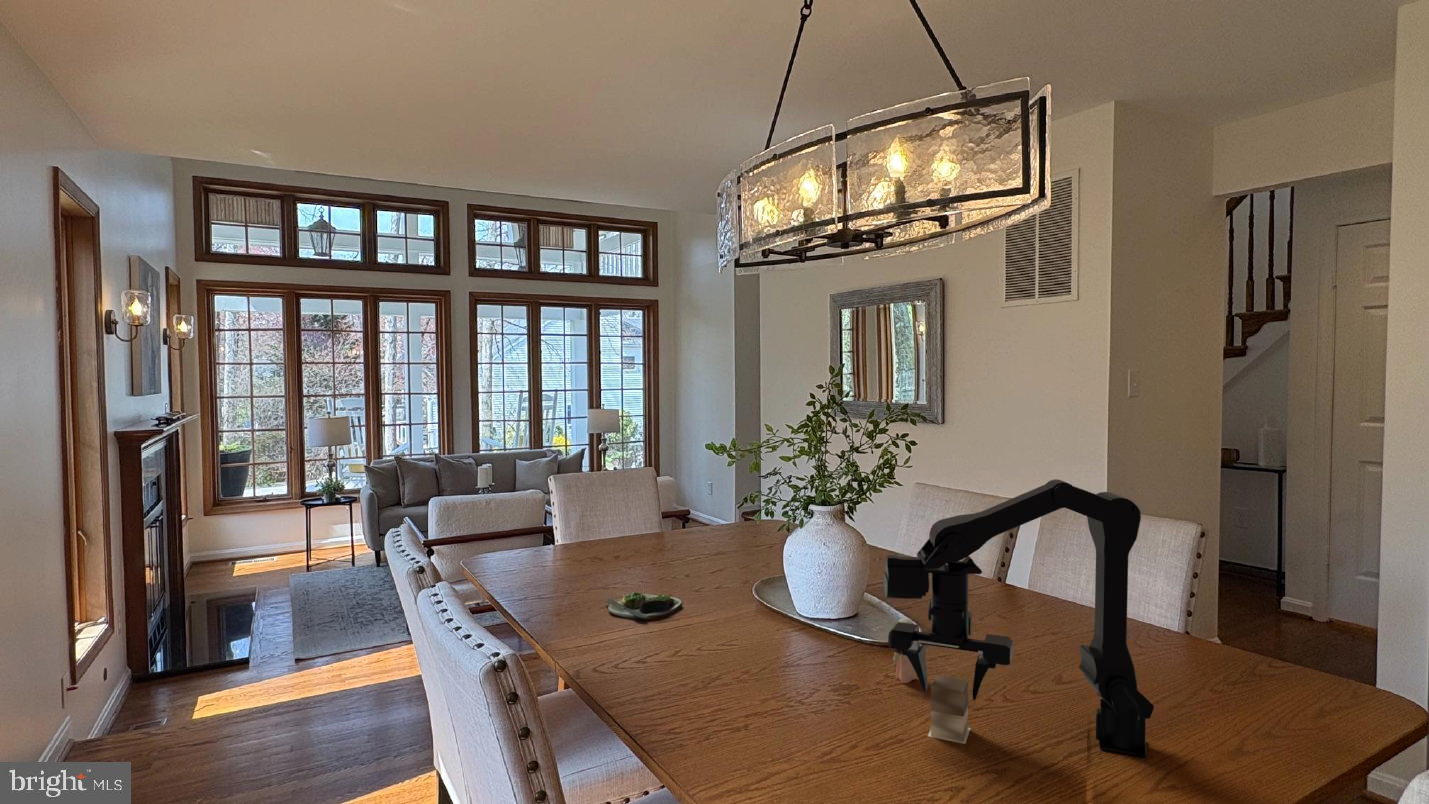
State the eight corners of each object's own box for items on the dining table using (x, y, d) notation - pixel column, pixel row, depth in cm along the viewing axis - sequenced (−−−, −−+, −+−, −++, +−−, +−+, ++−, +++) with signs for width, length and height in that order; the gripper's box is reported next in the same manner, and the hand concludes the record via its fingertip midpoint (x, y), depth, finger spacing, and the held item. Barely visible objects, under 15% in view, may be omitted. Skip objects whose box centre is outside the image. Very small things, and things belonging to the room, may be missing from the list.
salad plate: (586, 615, 190) (586, 597, 189) (626, 596, 205) (626, 579, 205) (653, 626, 181) (653, 607, 181) (689, 606, 197) (689, 588, 197)
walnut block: (968, 704, 125) (968, 680, 125) (963, 716, 120) (963, 691, 120) (936, 698, 127) (936, 675, 127) (931, 710, 123) (931, 686, 123)
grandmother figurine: (904, 676, 149) (905, 611, 149) (923, 681, 147) (923, 615, 146) (886, 688, 143) (886, 622, 143) (905, 694, 141) (905, 626, 140)
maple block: (967, 728, 125) (967, 704, 125) (963, 741, 121) (963, 716, 120) (936, 722, 127) (936, 698, 127) (930, 735, 123) (930, 710, 123)
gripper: (1016, 593, 126) (1015, 686, 127) (902, 580, 134) (902, 668, 135) (1009, 612, 116) (1009, 713, 117) (887, 597, 124) (887, 692, 125)
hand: (949, 694), depth 124 cm, fingers open, 7 cm apart
